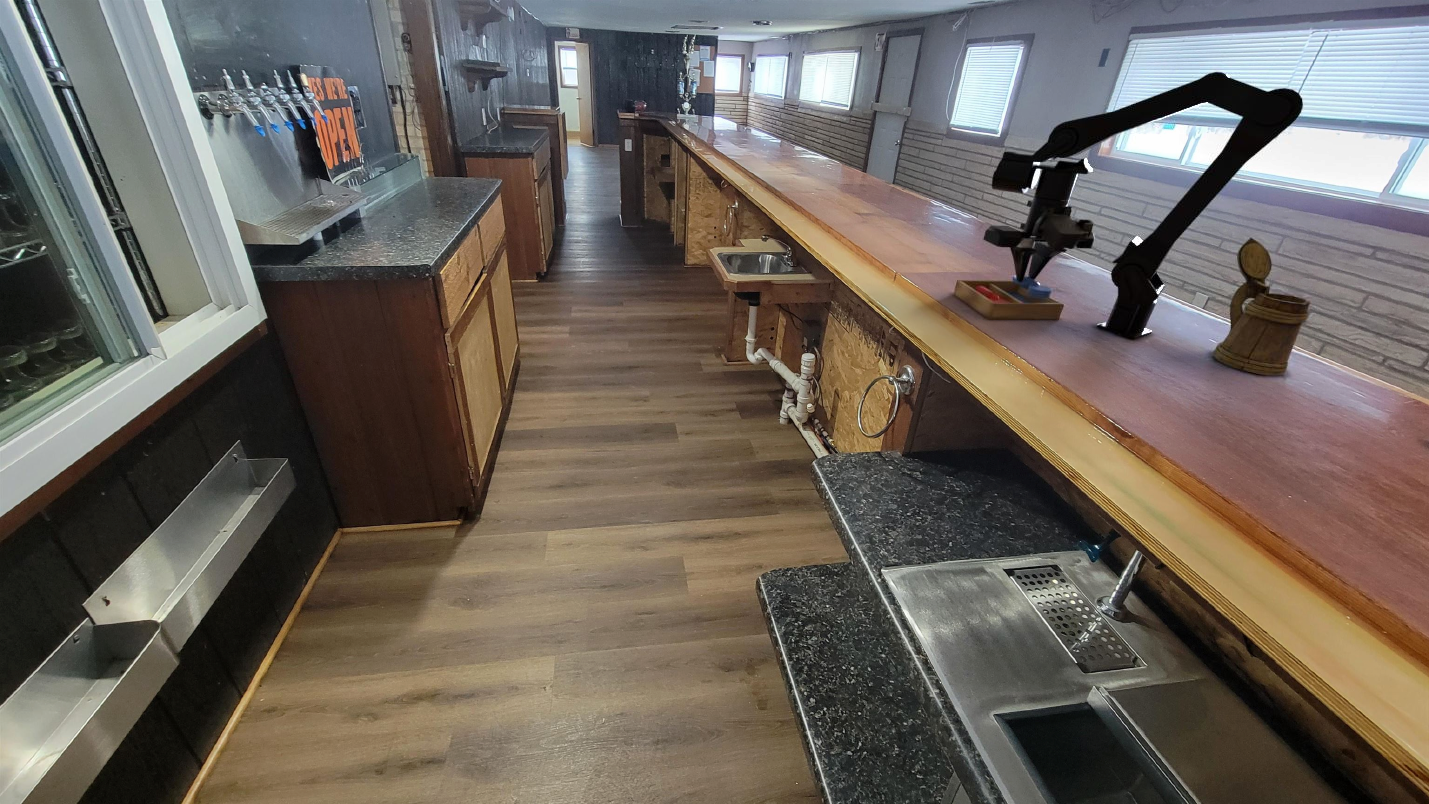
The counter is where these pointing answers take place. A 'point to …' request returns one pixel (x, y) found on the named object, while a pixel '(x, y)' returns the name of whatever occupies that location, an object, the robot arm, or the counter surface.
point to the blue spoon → (1034, 287)
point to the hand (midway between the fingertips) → (1024, 281)
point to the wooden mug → (1260, 319)
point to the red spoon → (990, 295)
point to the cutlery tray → (1012, 292)
